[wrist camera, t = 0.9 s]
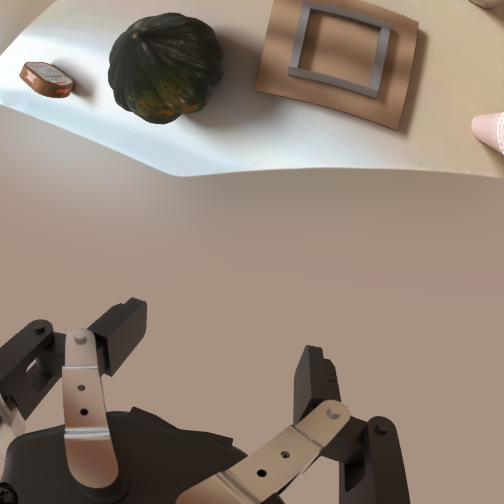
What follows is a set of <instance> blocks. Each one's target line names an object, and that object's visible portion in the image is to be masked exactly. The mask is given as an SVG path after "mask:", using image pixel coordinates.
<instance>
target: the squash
mask: <svg viewBox="0 0 504 504" xmlns="http://www.w3.org/2000/svg"><path fill="white" fill-rule="evenodd" d="M222 58H223V50H222V47H221V45H220V44H219V42H218V41H217V40H216V36H215V33H214V31H213V29H212V28H211V27H210V26H209V25H207V24H206V23H204V22H202V21H200V20H198V19H196V18H191V17H186V16H184V15H182V14H179V13H165V14H162V15H158V16H151V17H146V18H143V19H140V20H138V21H136V22H135V23H133V24H132V25H131V26H130V27H129V28H128V29H127V30H126V31H125V32H124V33H122V34H121V35H120V36H119V37H118V38H117V40H116V41H115V43H114V45H113V47H112V50H111V52H110V57H109V62H110V67H109V70H108V82H109V85H110V87H111V88H112V89H113V93H114V98H115V101H116V103H117V104H118V105H119V106H121V107H122V108H123V109H125V110H126V111H129V112H133V113H134V114H136V115H137V116H139V117H141V118H142V119H144V120H145V121H147V122H150V123H154V124H167V123H170V122H172V121H174V120H175V119H177V118H178V117H179V116H180V115H181V114H188V113H193V112H197V111H199V110H201V109H202V108H203V107H204V106H205V105H206V104H207V102H208V100H209V96H210V88H211V87H213V86H215V85H216V84H217V83H219V82H220V81H221V79H222V77H223V69H222V67H221V65H220V62H221V61H222Z"/></svg>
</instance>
